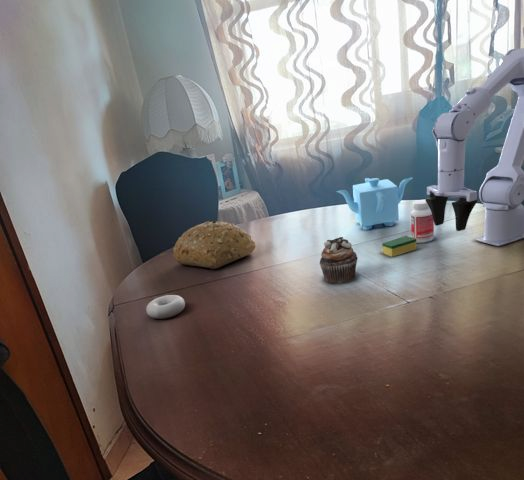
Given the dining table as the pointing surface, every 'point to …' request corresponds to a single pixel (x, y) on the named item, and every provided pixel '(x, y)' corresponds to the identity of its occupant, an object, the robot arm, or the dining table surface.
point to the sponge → (399, 246)
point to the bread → (212, 245)
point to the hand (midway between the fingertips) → (449, 227)
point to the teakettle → (375, 201)
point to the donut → (165, 306)
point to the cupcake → (338, 261)
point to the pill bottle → (422, 222)
